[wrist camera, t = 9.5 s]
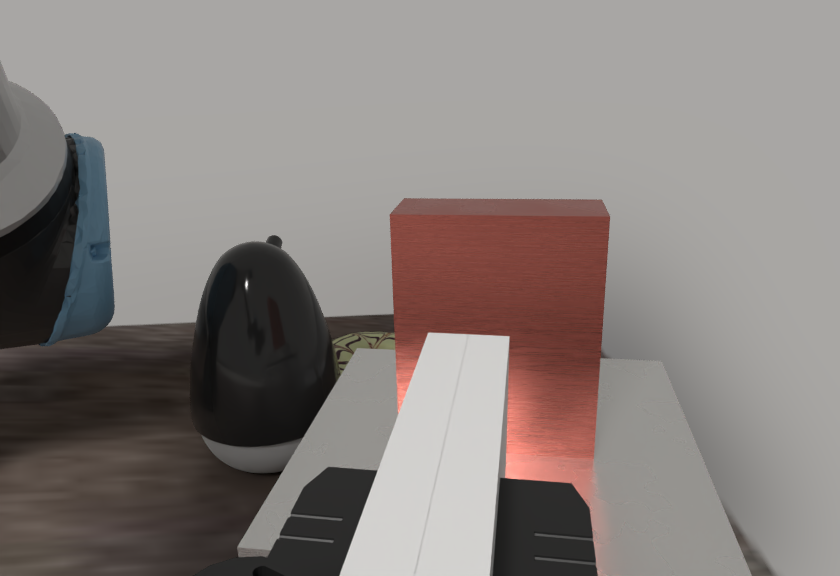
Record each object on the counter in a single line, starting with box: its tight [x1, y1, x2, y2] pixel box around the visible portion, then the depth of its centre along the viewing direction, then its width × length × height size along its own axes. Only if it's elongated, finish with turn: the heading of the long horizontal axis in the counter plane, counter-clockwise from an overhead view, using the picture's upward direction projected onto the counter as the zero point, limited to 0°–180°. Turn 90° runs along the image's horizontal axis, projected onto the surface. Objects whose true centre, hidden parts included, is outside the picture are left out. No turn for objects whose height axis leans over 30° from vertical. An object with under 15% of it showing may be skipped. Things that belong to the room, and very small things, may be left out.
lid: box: [237, 198, 752, 576], centre depth 28 cm, size 17×17×11 cm
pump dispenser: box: [190, 235, 341, 473], centre depth 45 cm, size 10×10×15 cm
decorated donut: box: [332, 332, 395, 374], centre depth 56 cm, size 10×11×4 cm
